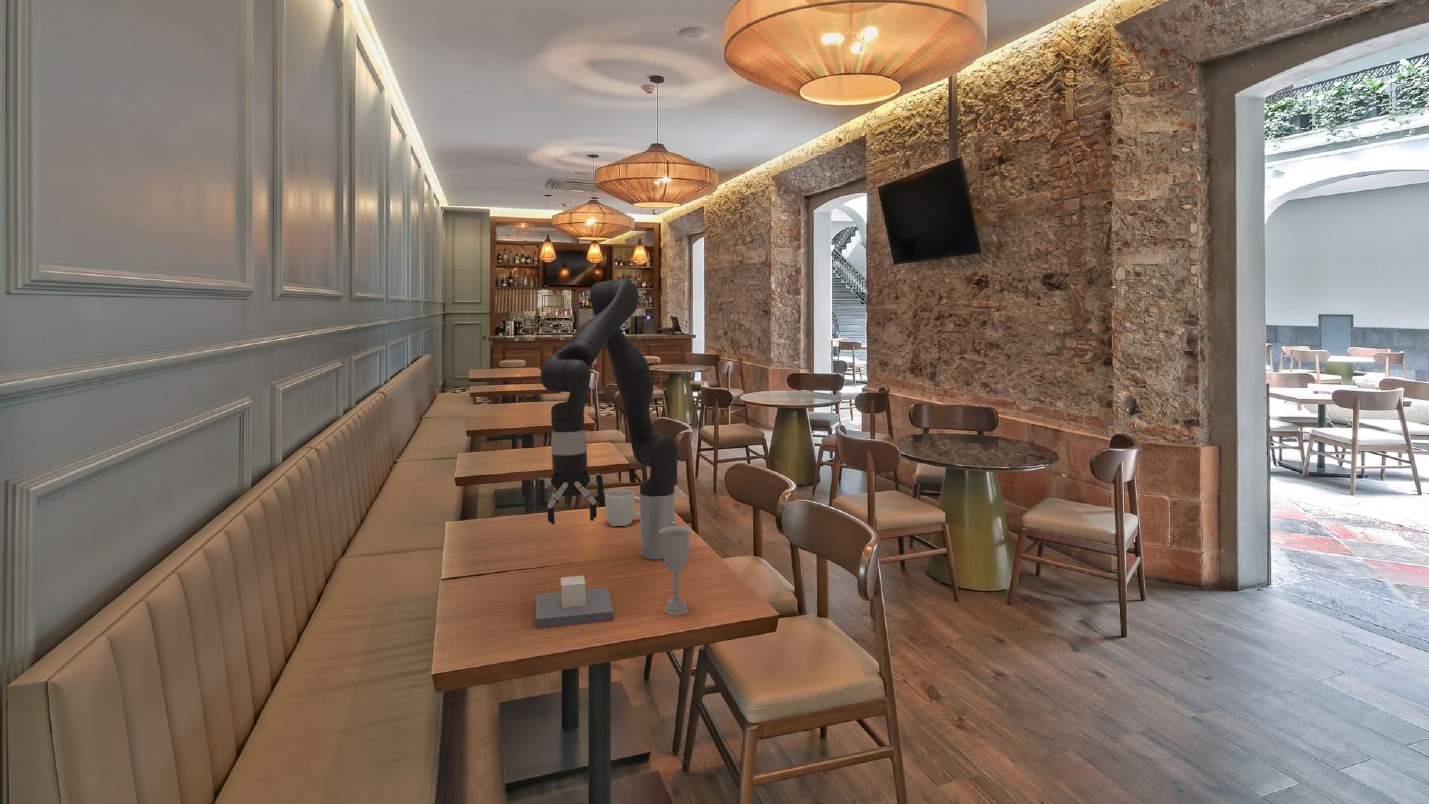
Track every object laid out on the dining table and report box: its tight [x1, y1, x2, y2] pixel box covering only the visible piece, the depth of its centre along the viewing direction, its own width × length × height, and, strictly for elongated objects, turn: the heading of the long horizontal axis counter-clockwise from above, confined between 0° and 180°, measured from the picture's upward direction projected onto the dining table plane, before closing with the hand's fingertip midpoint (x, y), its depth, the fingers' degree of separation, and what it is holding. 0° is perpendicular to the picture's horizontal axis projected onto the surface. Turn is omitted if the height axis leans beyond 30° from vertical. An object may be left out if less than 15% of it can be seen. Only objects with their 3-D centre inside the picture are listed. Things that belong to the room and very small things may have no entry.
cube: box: [560, 575, 586, 608], centre depth 157 cm, size 5×5×5 cm
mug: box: [604, 489, 640, 528], centre depth 224 cm, size 13×9×10 cm
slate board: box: [535, 587, 614, 629], centre depth 157 cm, size 16×14×2 cm
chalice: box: [659, 525, 692, 616], centre depth 157 cm, size 7×7×18 cm
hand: (572, 521), depth 159 cm, fingers open, 8 cm apart
